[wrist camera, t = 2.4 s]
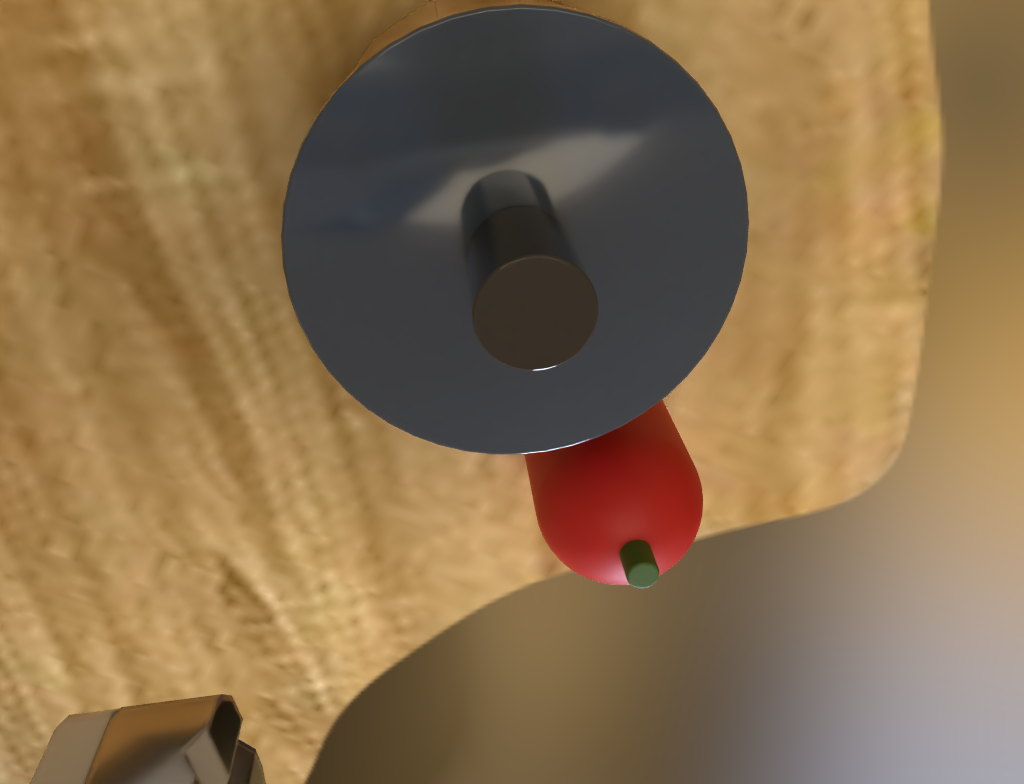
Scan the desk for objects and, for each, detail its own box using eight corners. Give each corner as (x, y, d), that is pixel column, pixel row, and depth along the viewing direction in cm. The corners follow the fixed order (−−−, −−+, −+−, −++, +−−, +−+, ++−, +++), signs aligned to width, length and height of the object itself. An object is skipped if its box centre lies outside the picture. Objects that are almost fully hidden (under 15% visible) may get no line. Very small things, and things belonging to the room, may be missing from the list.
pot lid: (548, 493, 24) (572, 600, 20) (203, 289, 20) (154, 375, 16) (822, 192, 20) (911, 255, 16) (466, -120, 16) (479, -129, 13)
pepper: (599, 503, 32) (650, 670, 25) (491, 437, 30) (512, 598, 23) (692, 405, 30) (773, 555, 23) (582, 330, 28) (635, 468, 21)
